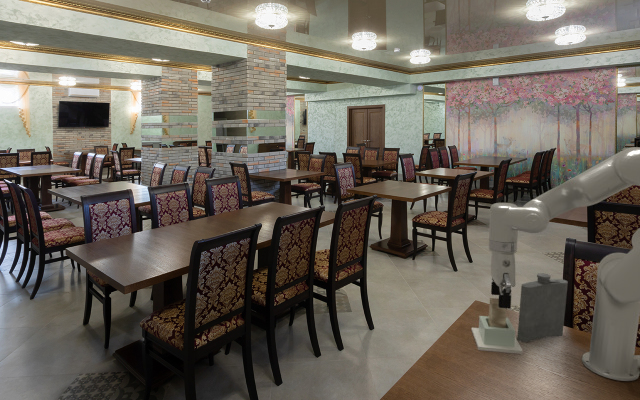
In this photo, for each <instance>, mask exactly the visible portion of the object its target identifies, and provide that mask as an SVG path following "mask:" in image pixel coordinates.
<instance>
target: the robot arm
mask: <svg viewBox="0 0 640 400" xmlns="http://www.w3.org/2000/svg"><path fill="white" fill-rule="evenodd" d="M632 186H639V187H640V147H638V146H636V147H635V146H633V147H628V148H625V149H623V150H620V151H619V152H617V153H615V154H613V155H612V156H610V157H608V158H606V159H605V160H603V161H600V162H599V163H598V164H595V165H593V166H592V167H590V168H588V169H587V170H584V171H582V172H580V173H579V174H577V175H576V176H574V177H572V178H570V179H568V180H566V181H564V182H563V183H561V184H558V185H556V186H555V187H553V188H552V189H549V190H547V191H545V192H544V193H541V194H540V195H538V196H537V197H535V198H533V199H531V200H530V201H528V202H526V203H525V204H524V205H523V206H518V205H516V204H515V203H510V202H496V203H493V204H491V206H490V208H489V231H488V232H489V233H488V234H489V235H488V251H490V252H491V260H490V275H491V284H490V286H491V287H490V288H491V291H490V294H491V295H492V296H498V299H499V304H498V306H499V308H507V310H508V309H511V308H512V288H514V287H516V256H515V254H516V253H517V252H518V233H519V232H524V233H529V234H539V233H541V232H544V231H545V230H546V229H547V228H548V226H549V223H550V221H551V220H552V219H555V218H556V217H558V216H560V215H562V214H564V213H568V212H569V211H571V210H574V209H577V208H581V207H590V206H593V205H597V204H598V203H600V202H602V201H604V200H606V199H608V198H610V197H612V196H613V195H615V194H617V193H619V192H621V191H624V190H626V189H627V188H630V187H632ZM631 245H632V249H630V250H629V251H628V252H627V253H624V252H613V253H609V254H607V255H605V256H603V258H602V259H601V260H600V262H599V264H598V266H597V274H596V293H595V301H594V303H595V304H594V311H593V318H592V327H591V337H590V344H589V345H590V346H589V351H587V352H584V353H583V354H582V356H581V362H582V364H583V365H584V366H585V368H587V369H589V371H591V372H592V373H594V374H596V375H599V376H601V377H604V378H607V379H609V380H610V379H611V380H615V381H621V382H631V381H635V380H638V379H639V376H640V355H638V354H637V355H635V351H636V344H637V337H638V336H637V335H638V329H639V322H640V227H639V228H638V229H637V230H635V232H634V233H633V235H632V237H631Z"/></svg>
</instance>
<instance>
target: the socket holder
mask: <svg viewBox="0 0 640 400" xmlns="http://www.w3.org/2000/svg"><path fill="white" fill-rule="evenodd" d="M478 318H479V320H478V327H471V333H472V335H473V340H474V342H475V345H476V348H477V350H478V351H485V352H495V353H496V352H497V353H507V354H516V355H517V354H518V355H519V354H520V355H523V352H524V351H523V349H522V347H521V345H520V343H519V342H518V341H519V340H518V339H517V337H516V329H515V327H514V326H513V324H512V322H511V320H510V318H509V317H506V326H505V328H499V327H489V326H488V320H489V315H488V316H485V315H479V316H478Z"/></svg>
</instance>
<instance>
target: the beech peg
mask: <svg viewBox="0 0 640 400" xmlns="http://www.w3.org/2000/svg"><path fill="white" fill-rule="evenodd" d="M498 304H499V298H496V297H495V298H493V297H489V305H488V306H489V307H488V317H489V320H488V326H489V327H499V328H505V326H506V318H507V310H508V308H499V306H498Z"/></svg>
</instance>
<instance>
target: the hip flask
mask: <svg viewBox="0 0 640 400" xmlns="http://www.w3.org/2000/svg"><path fill="white" fill-rule="evenodd" d="M536 278H537V280H536V281H535V280H534V281H530V282H525V283H522V284H521V286H520V300H519V301H520V303H519V314H518V315H519V316H518V324H517V325H518V326H517V337H516V339H517V341H519V342H522V343H529V342H532V341H535V340H540V339H546V338H553V337H555V338H556V337H562V336H563V335H564V325H565V315H566V314H565V313H566V304H567V294H568V293H567V292H568V284H569V283H568V282H569V281H568V280H565V279H562V278H559V279H558V278H557V279H555V278H553V279H552V278H551V275H550V274H547V273H543V272H540V273H537V274H536Z"/></svg>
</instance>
